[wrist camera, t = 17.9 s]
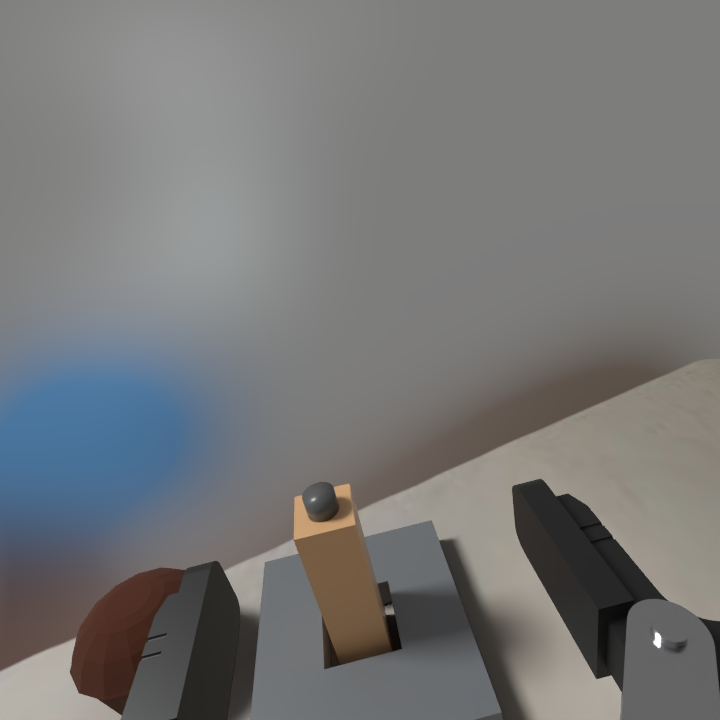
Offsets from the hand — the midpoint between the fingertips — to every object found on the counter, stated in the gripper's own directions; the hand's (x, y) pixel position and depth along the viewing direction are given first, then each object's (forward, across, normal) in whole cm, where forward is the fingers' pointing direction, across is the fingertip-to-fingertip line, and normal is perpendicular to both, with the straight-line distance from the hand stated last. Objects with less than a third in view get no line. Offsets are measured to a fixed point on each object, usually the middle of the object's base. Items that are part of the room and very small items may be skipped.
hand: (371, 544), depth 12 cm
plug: (+17, +4, +30) cm, 34 cm away
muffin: (+19, +22, +30) cm, 42 cm away
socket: (+17, +4, +30) cm, 34 cm away
